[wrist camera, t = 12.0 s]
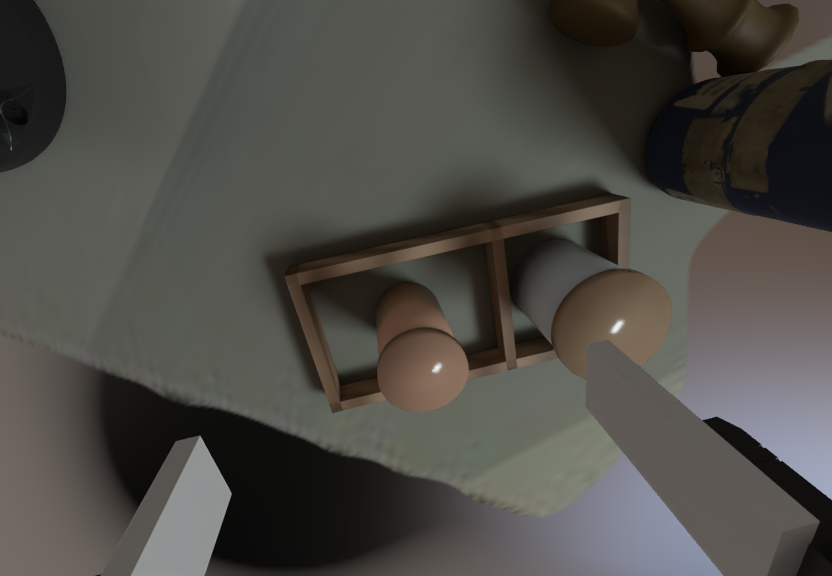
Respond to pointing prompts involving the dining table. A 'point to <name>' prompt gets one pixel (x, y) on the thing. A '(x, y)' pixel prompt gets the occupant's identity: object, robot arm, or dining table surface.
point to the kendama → (689, 27)
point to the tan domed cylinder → (417, 350)
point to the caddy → (492, 236)
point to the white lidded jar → (589, 303)
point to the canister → (751, 144)
